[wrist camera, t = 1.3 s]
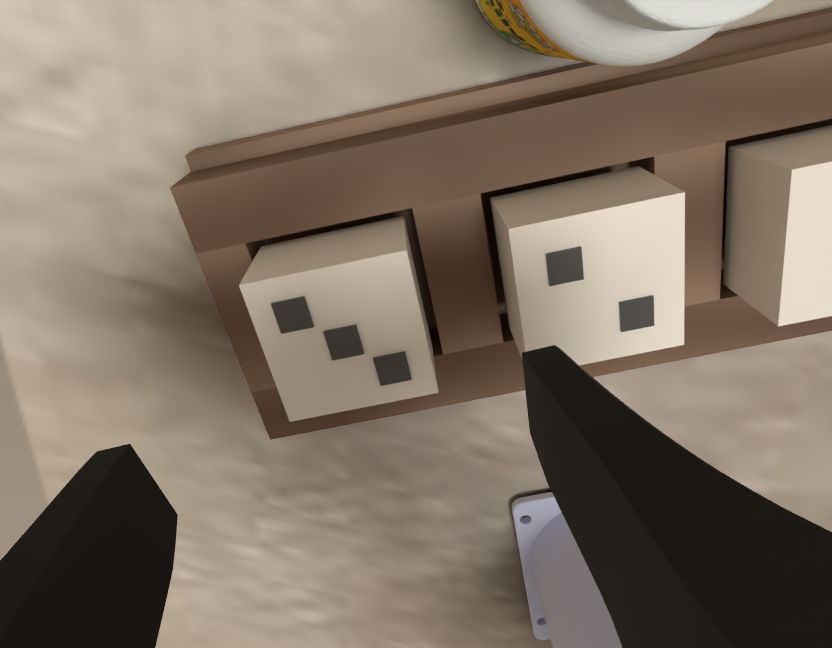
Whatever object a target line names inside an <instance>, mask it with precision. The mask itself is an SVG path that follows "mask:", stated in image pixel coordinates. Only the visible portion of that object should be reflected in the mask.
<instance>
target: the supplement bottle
mask: <svg viewBox="0 0 832 648" xmlns="http://www.w3.org/2000/svg"><path fill="white" fill-rule="evenodd" d="M772 1H773V0H476V3H477V5H478V7H479V9H480V11H481V13H482V14H483V16H484V17H485V19H486V20H487V22H488V23H489V24H490V25H491V26H492V27H493V28H494V29H495V30H496V31H497V32H498V33H499V34H500V35H501V36H503V37H504V38H505V39H507V40H508V41H510V42H512V43H514V44H515V45H517V46H519V47H522V48H524V49H526V50H529V51H532V52H535V53H538V54H542V55H548V56H554V57H560V58H566V59H572V60H578V61H583V62H589V63H595V64H601V65H609V66H639V65H645V64H650V63H655V62H659V61H662V60H665V59H668V58H671V57H674V56H676V55H679V54H681V53H683V52H685V51H687V50H689V49H691V48H693V47H695V46H696V45H698V44H700V43H701V42H703V41H705V40H706V39H708V38H709V37H710V36H712V35H713V34H714V33H716V32H717V31H718V30H720V29H721V28H722V27H723V26H724V25H725V24H728V23H731V22H734V21H736V20H739V19H741V18H744V17H746V16H748V15H750V14H752V13H754V12H756V11H758V10H759V9H761V8H763V7H764V6H766V5H768V4H769V3H771V2H772Z"/></svg>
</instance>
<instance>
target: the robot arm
mask: <svg viewBox="0 0 832 648" xmlns="http://www.w3.org/2000/svg"><path fill="white" fill-rule="evenodd" d="M522 361H523V371H524V380H525V390H526V399H527V408H528V418H529V427H530V434H531V437H532V440H533V443H534V446H535V448H536V451H537V454H538V457H539V460H540V463H541V466H542V469H543V471H544V474H545V477H546V480H547V482H548V485H549V487H550V489H551V491H552V492H548V493H543V494H537V495H532V496H527V497H521V498H518V499H516V500H515V501H514V502H513V503H512V513H513V519H514V525H515V531H516V536H517V542H518V548H519V553H520V559H521V565H522V571H523V576H524V582H525V588H526V594H527V599H528V605H529V611H530V617H531V622H532V628H533V633H534V636H535V638H537V639H539V640H548V639H550V640H551V643H552V647H553V648H832V532H830V531H828V530H826V529H824V528H822V527H820V526H818V525H816V524H814V523H812V522H810V521H808V520H806V519H804V518H802V517H800V516H798V515H796V514H794V513H792V512H790V511H788V510H786V509H784V508H782V507H781V506H779V505H777V504H775V503H774V502H772V501H770V500H768V499H766V498H765V497H763V496H761V495H759V494H757V493H756V492H754V491H752V490H750V489H749V488H747V487H745V486H744V485H742V484H740V483H739V482H737V481H735V480H734V479H732V478H730V477H729V476H727V475H725V474H724V473H722V472H720V471H719V470H717V469H715V468H714V467H712V466H711V465H709V464H708V463H706V462H705V461H703V460H701V459H700V458H698V457H697V456H695V455H694V454H692V453H691V452H689V451H688V450H687V449H685V448H684V447H682V446H681V445H679V444H678V443H676V442H675V441H674V440H672V439H671V438H669V437H668V436H666V435H665V434H664V433H662V432H661V431H659V430H658V429H657V428H655V427H654V426H653V425H651V424H650V423H649V422H647V421H646V420H645V419H643V418H642V417H641V416H640V415H638V414H637V413H636V412H634V411H633V410H632V409H631V408H629V407H628V406H627V405H625V404H624V403H623V402H622V401H620V400H619V399H618V398H617V397H615V396H614V395H613V394H612V393H610V392H609V391H608V390H607V389H606V388H604V387H603V386H602V385H601V384H600V383H599V382H597V381H596V380H595V379H594V378H593V377H591V376H590V375H589V374H588V373H587V372H586V371H585V370H584V369H582V368H581V367H580V366H579V365H578V364H577V363H576V362H575V361H574V360H572V359H571V358H570V357H569V356H568V355H567V354H566V353H565V352H564V351H563V350H562V349H560V348H559V347H557V346H556V345H553V346H548V347H544V348H540V349H535V350H531V351H527V352H522ZM525 515H528V516H527V517H522V516H525ZM176 529H177V513H176V512H175V510H174V509H173V507H172V506H171V504H170V503H169V501H168V500H167V498H166V497H165V495H164V494H163V492H162V491H161V489H160V488H159V486H158V485H157V483H156V482H155V480H154V479H153V477H152V476H151V475H150V473H149V472H148V470H147V469H146V467H145V466H144V464H143V463H142V461H141V460H140V458H139V457H138V455H137V454H136V452H135V451H134V449H133V448H132V446H131V445H130V444H127V445H123V446H119V447H114V448H110V449H106V450H101V451H97V452H96V453H95V454H94V455H93V456H92V457H91V458H90V459H89V460H88V461H87V462H86V463H85V464H84V466H83V467H82V468H81V469H80V470H79V471H78V472H77V473H76V474H75V476H74V477H73V478H72V479H71V480H70V481H69V482H68V483H67V485H66V486H65V487H64V488H63V489H62V490H61V492H60V493H59V494H58V495H57V496H56V497H55V498H54V500H53V501H52V502H51V503H50V504H49V505H48V507H47V508H46V509H45V510H44V511H43V512H42V514H41V515H40V516H39V517H38V518H37V519H36V520H35V522H34V523H33V524H32V525H31V526H30V527H29V528H28V530H27V531H26V532H25V533H24V534H23V535H22V536H21V538H20V539H19V540H18V541H17V542H16V543H15V545H14V546H13V547H12V548H11V549H10V550H9V551H8V553H7V554H6V555H5V556H4V557H3V558H2V559H1V560H0V648H155V646H156V641H157V637H158V633H159V629H160V624H161V620H162V616H163V611H164V607H165V602H166V598H167V593H168V589H169V584H170V580H171V575H172V570H173V562H174V553H175V543H176Z"/></svg>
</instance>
